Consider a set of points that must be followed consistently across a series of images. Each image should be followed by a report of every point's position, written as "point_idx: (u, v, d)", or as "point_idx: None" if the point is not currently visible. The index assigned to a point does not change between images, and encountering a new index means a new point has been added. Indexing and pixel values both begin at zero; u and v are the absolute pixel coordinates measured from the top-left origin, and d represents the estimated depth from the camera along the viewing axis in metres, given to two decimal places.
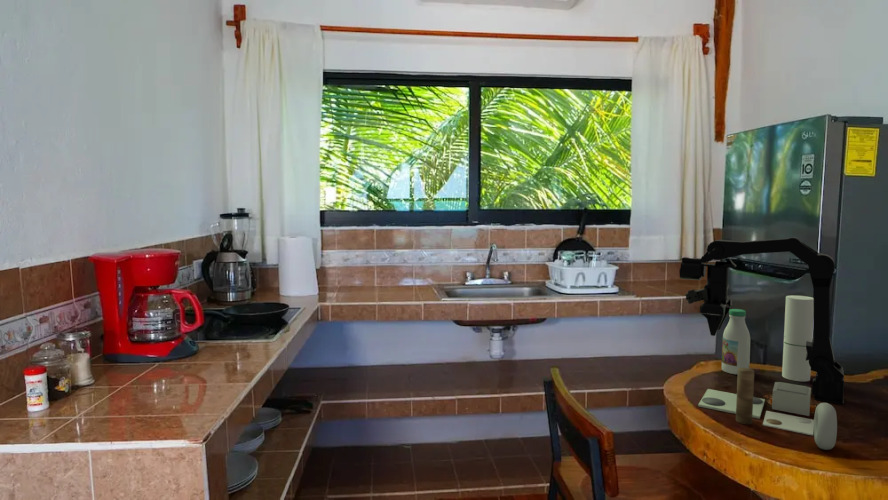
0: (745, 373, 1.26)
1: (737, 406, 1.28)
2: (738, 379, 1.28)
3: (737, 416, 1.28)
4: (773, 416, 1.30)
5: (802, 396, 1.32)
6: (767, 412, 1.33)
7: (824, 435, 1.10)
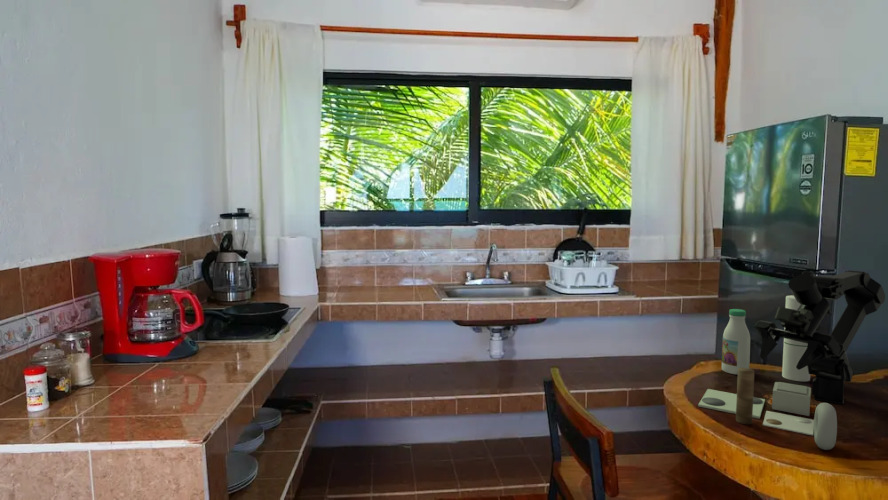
0: (745, 373, 1.26)
1: (737, 406, 1.28)
2: (738, 379, 1.28)
3: (737, 416, 1.28)
4: (773, 416, 1.30)
5: (802, 396, 1.32)
6: (767, 412, 1.33)
7: (824, 435, 1.10)
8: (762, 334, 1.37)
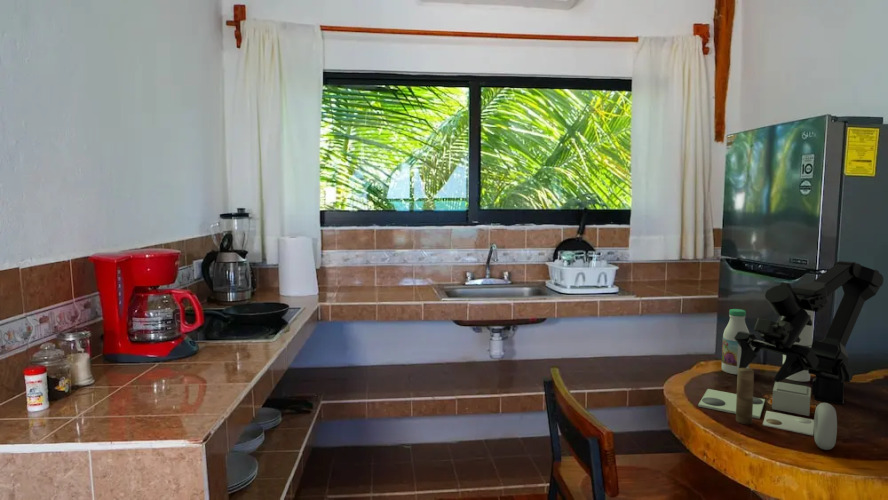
0: (745, 373, 1.26)
1: (737, 406, 1.28)
2: (738, 379, 1.28)
3: (737, 416, 1.28)
4: (773, 416, 1.30)
5: (802, 396, 1.32)
6: (767, 412, 1.33)
7: (824, 435, 1.10)
8: (742, 345, 1.36)
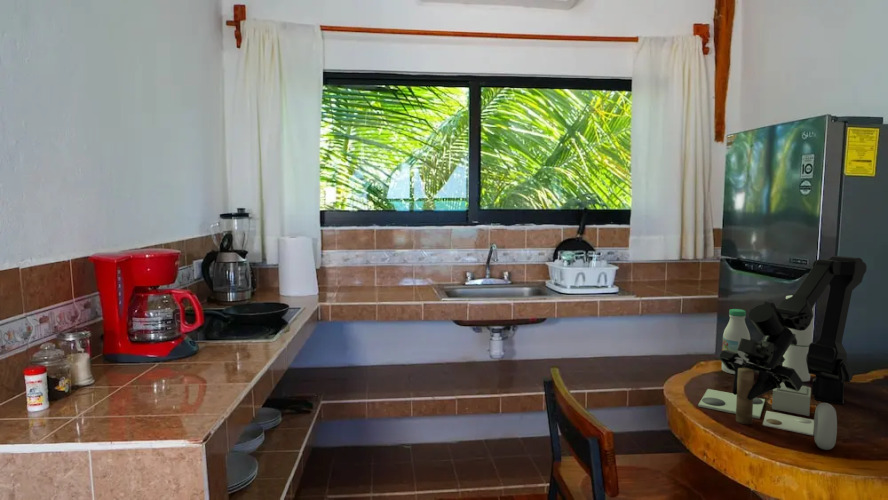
0: (745, 373, 1.26)
1: (737, 406, 1.28)
2: (738, 379, 1.28)
3: (737, 416, 1.28)
4: (773, 416, 1.30)
5: (802, 396, 1.32)
6: (767, 412, 1.33)
7: (824, 435, 1.10)
8: (735, 368, 1.31)
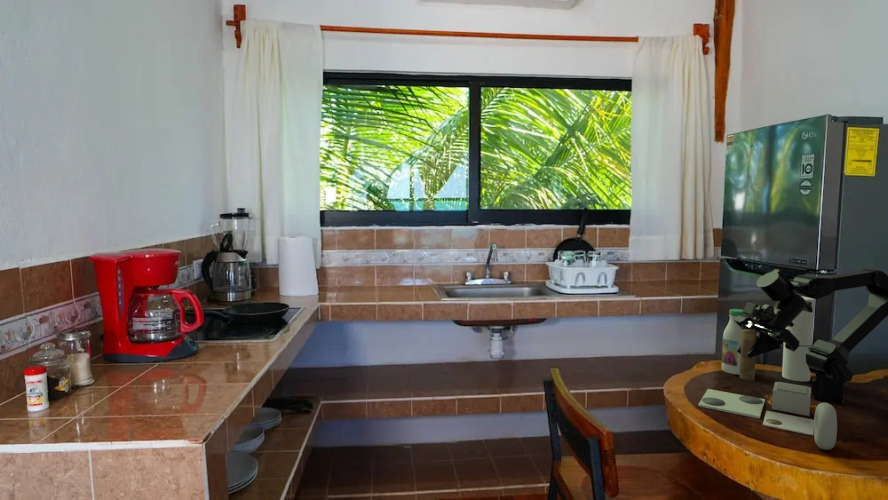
0: (746, 332, 1.38)
1: (740, 363, 1.40)
2: (741, 338, 1.40)
3: (740, 372, 1.40)
4: (773, 416, 1.30)
5: (802, 396, 1.32)
6: (767, 412, 1.33)
7: (824, 435, 1.10)
8: None
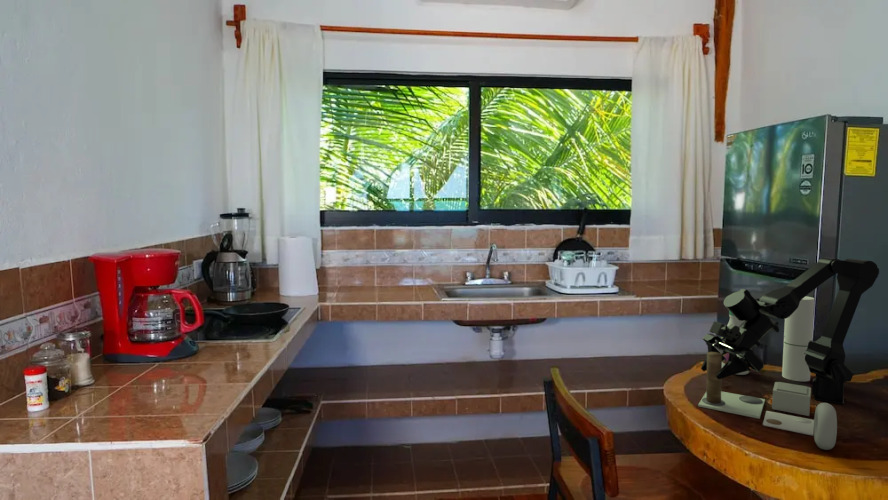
0: (711, 356, 1.37)
1: None
2: (707, 362, 1.39)
3: (706, 395, 1.40)
4: (773, 416, 1.30)
5: (802, 396, 1.32)
6: (767, 412, 1.33)
7: (824, 435, 1.10)
8: (708, 347, 1.44)
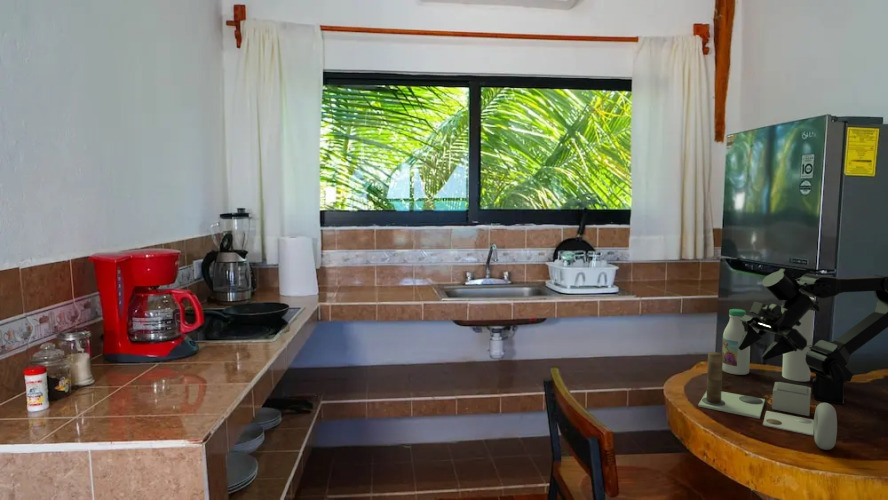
0: (712, 356, 1.37)
1: (707, 386, 1.40)
2: (708, 361, 1.39)
3: (707, 395, 1.40)
4: (773, 416, 1.30)
5: (802, 396, 1.32)
6: (767, 412, 1.33)
7: (824, 435, 1.10)
8: (744, 327, 1.46)
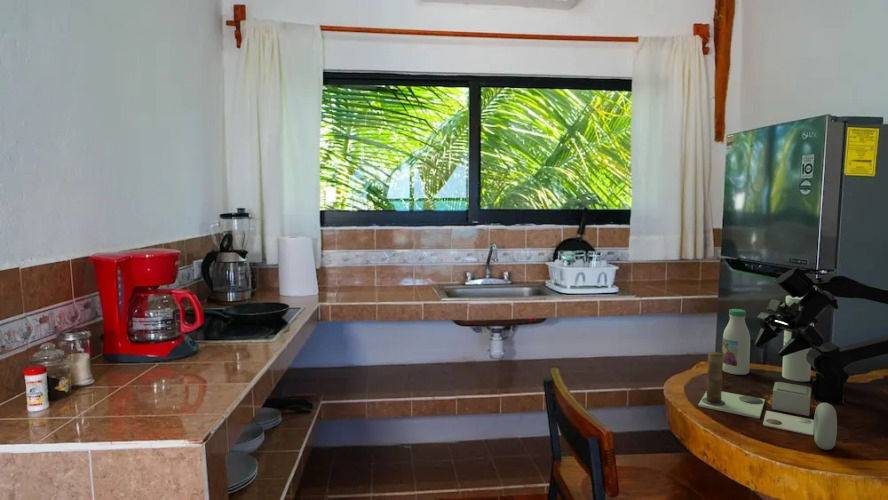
0: (712, 356, 1.37)
1: (707, 386, 1.40)
2: (708, 361, 1.39)
3: (707, 395, 1.40)
4: (773, 416, 1.30)
5: (802, 396, 1.32)
6: (767, 412, 1.33)
7: (824, 435, 1.10)
8: (761, 324, 1.48)
